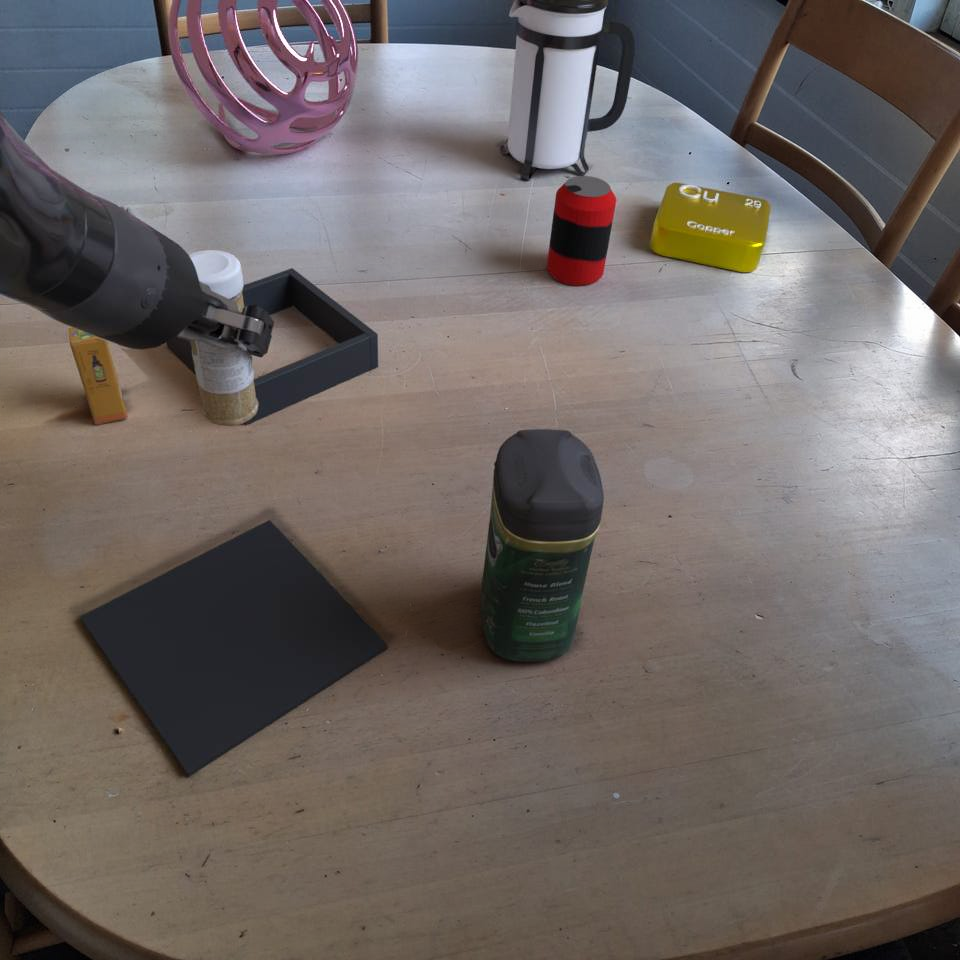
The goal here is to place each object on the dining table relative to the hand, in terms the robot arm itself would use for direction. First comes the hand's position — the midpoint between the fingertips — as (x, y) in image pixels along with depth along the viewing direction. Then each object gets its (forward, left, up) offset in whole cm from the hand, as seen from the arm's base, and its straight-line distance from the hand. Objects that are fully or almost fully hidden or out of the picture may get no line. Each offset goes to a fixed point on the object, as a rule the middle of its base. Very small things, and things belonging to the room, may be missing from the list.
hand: (233, 336), depth 70 cm
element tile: (+78, +9, -20) cm, 81 cm away
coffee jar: (+11, -24, -20) cm, 34 cm away
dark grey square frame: (+14, +21, -20) cm, 32 cm away
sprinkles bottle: (-2, -1, -6) cm, 7 cm away
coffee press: (+77, +40, -20) cm, 89 cm away
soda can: (+56, +14, -20) cm, 61 cm away
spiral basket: (+45, +69, -20) cm, 85 cm away
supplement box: (-4, +22, -20) cm, 30 cm away
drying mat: (-9, -10, -20) cm, 24 cm away
